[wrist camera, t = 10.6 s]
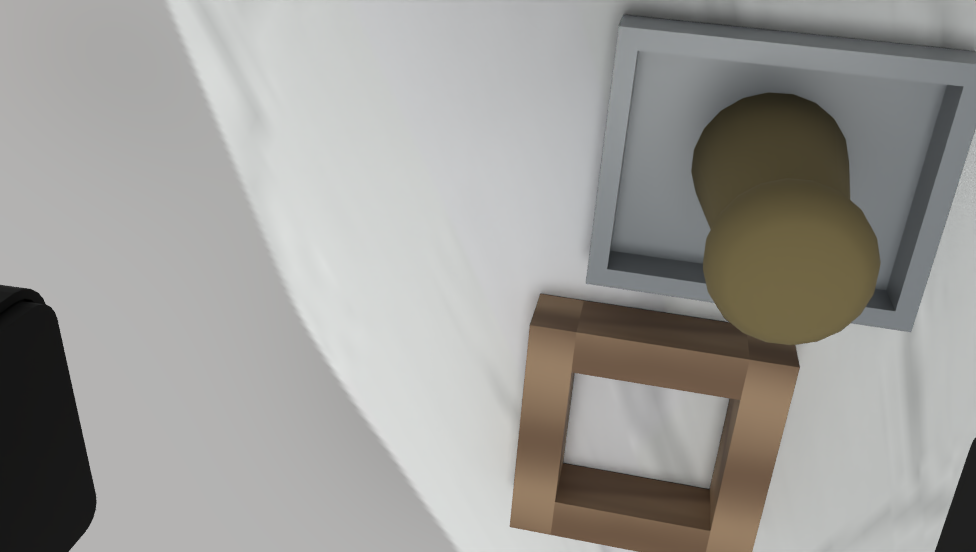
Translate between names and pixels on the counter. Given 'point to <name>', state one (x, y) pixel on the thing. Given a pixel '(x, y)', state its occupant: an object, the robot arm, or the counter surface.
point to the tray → (790, 70)
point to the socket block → (664, 363)
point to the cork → (782, 221)
